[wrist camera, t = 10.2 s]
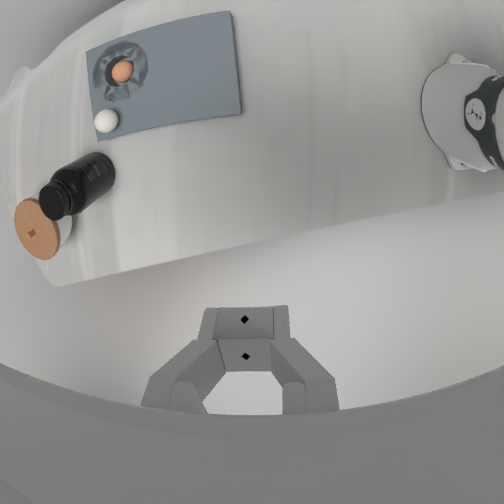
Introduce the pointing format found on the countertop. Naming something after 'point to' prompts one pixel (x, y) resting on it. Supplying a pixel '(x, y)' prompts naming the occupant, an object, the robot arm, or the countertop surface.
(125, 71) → the terracotta ball
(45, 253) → the lidded jar
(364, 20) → the countertop surface
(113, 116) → the cream ball
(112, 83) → the plate
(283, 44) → the countertop surface
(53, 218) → the supplement bottle
